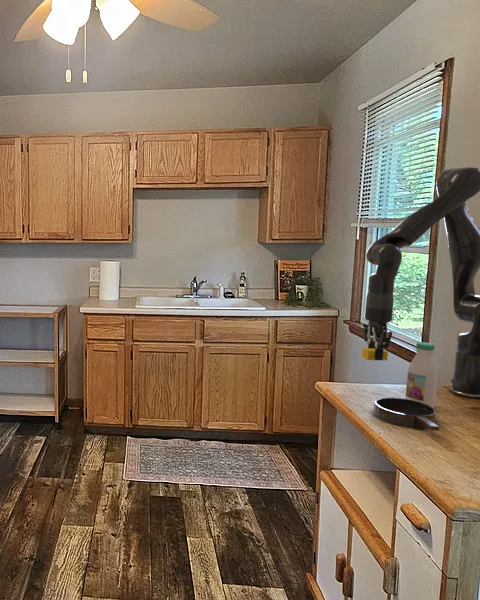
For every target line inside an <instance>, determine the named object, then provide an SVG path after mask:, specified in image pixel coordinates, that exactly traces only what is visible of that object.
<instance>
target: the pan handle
mask: <svg viewBox="0 0 480 600" xmlns="http://www.w3.org/2000/svg"><path fill="white" fill-rule="evenodd" d="M425 427H427V429H429V430H430V431H436V432H438V431H440V426H439V425H437V424H436V423H435V424H434V423H433V422H431V421H430V420H428V419H426V418H425V417H420V416H416V423H415V428H414V429H416V430H425V429H426V428H425Z"/></svg>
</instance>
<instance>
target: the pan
mask: <svg viewBox="0 0 480 600" xmlns="http://www.w3.org/2000/svg"><path fill="white" fill-rule="evenodd" d="M372 412H373V415H374V416H375V417H376V418H378V419H379V420H381V421H383V422H386V423H389V424H392V425H396V426H400V427H405V428H413V429H416V428H415V423H416V416H420V417H425V418H426V419H428V420H430V421H431V422H433V423H434V424H436V420H437V410H436V409H435V407H434V408H433V407H431V406H429V405H427V404H424V403H421V402H417V401H414V400H409V399H405V398H403V397H389V396H388V397H387V396H386V397H380V398H377V399H375V400H374V401H373V411H372ZM426 428H427V427H425V429H426ZM427 429H428V428H427Z"/></svg>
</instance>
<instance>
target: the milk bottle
mask: <svg viewBox="0 0 480 600" xmlns="http://www.w3.org/2000/svg"><path fill="white" fill-rule="evenodd" d="M415 345H416V349H415V350H416V353H415V355H414V357H413V359H412V360H411V361H410V364H409V366H408V370H407V378H406V387H405V398H404V399H409V400H414V401H417V402H421V403H424V404H427V405H429V406H431V407H433V408H434V409H435V407H436V398H437V389H438V387H437V386H438V380H439V379H438V376H439V369H438V365H437V362H436V361H435V357H434V352H435V348H436V345H435V343H431V342H423V341H420V342H417V343H416V344H415Z"/></svg>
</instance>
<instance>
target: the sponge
mask: <svg viewBox="0 0 480 600" xmlns="http://www.w3.org/2000/svg"><path fill="white" fill-rule="evenodd" d="M388 355H389V351H388V350H387V349H386V350H385V349H383V359H382V360H381V361H388ZM361 357H362V358H363V359H365V360H367V361H376V360H375V359H374V357H375V348H368V347H362V350H361Z"/></svg>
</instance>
